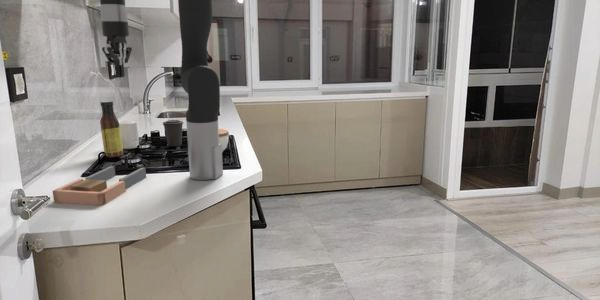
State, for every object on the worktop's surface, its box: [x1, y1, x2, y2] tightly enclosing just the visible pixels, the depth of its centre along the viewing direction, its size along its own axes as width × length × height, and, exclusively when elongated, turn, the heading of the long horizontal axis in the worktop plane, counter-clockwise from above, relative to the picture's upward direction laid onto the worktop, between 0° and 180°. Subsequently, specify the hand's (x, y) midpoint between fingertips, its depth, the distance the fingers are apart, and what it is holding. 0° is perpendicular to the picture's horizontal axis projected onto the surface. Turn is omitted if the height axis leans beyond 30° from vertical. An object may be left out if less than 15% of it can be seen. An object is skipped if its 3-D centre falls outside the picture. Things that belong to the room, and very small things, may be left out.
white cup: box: [118, 119, 140, 150], centre depth 164 cm, size 8×8×10 cm
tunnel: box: [84, 165, 147, 190], centre depth 122 cm, size 11×12×3 cm
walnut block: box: [70, 179, 108, 192], centre depth 110 cm, size 6×6×4 cm
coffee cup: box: [162, 119, 184, 147], centre depth 168 cm, size 8×8×10 cm
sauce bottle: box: [99, 100, 124, 158], centre depth 149 cm, size 7×6×20 cm
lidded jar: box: [218, 128, 230, 153], centre depth 157 cm, size 11×11×9 cm
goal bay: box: [52, 178, 127, 206], centre depth 110 cm, size 14×10×3 cm
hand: (120, 77), depth 133 cm, fingers closed
